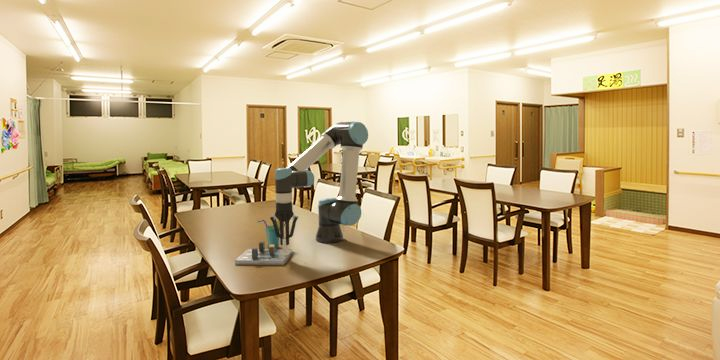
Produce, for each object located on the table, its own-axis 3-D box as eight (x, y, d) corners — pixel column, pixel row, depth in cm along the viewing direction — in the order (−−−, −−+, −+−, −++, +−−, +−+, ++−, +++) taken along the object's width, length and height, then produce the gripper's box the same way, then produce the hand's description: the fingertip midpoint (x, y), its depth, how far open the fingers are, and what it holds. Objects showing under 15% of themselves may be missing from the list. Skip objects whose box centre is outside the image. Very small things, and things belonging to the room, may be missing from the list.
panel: (292, 253, 195) (292, 240, 194) (283, 265, 177) (283, 251, 176) (248, 252, 196) (247, 240, 195) (235, 264, 178) (234, 250, 177)
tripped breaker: (274, 253, 187) (274, 244, 187) (273, 254, 185) (273, 246, 184) (270, 253, 187) (270, 244, 187) (269, 254, 185) (269, 246, 184)
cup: (258, 250, 199) (257, 221, 197) (256, 247, 206) (255, 218, 205) (286, 248, 204) (285, 219, 203) (283, 244, 211) (283, 216, 210)
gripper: (299, 200, 186) (300, 249, 189) (272, 200, 187) (273, 249, 189) (296, 203, 179) (297, 254, 181) (267, 203, 179) (269, 254, 182)
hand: (285, 251), depth 185 cm, fingers closed
